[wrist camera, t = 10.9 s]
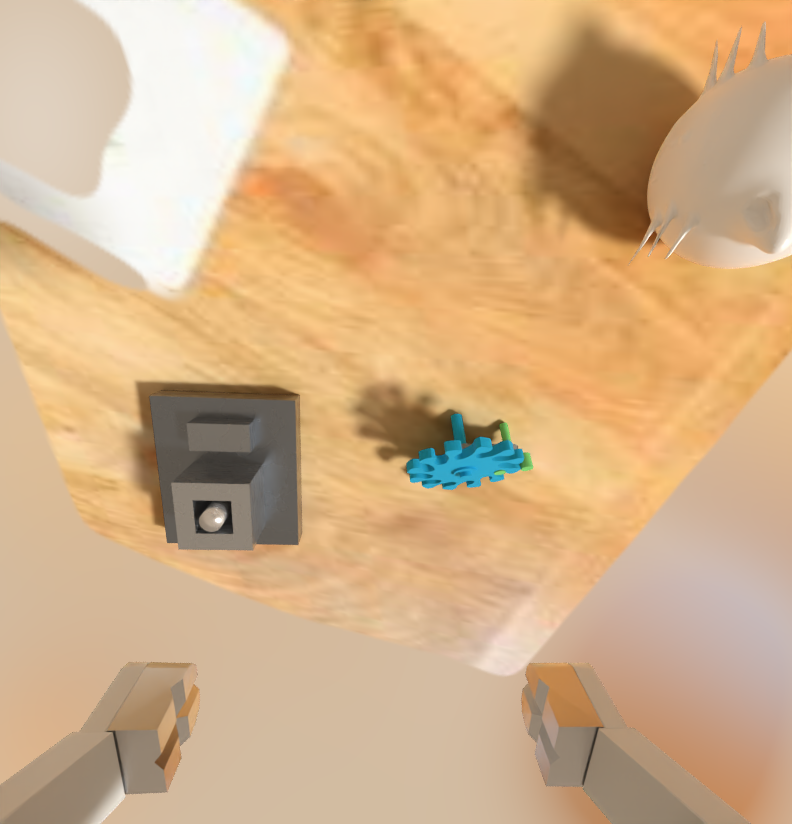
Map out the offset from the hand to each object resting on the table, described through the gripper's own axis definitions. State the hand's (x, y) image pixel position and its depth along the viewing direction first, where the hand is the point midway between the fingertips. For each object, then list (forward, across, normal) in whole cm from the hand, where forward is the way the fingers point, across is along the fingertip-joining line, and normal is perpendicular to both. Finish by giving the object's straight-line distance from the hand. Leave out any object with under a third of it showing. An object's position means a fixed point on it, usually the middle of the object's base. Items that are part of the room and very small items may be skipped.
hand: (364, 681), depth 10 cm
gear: (+29, -9, +5) cm, 30 cm away
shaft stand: (+28, +12, +7) cm, 32 cm away
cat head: (+29, -25, -18) cm, 42 cm away
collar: (+26, +12, +9) cm, 30 cm away
